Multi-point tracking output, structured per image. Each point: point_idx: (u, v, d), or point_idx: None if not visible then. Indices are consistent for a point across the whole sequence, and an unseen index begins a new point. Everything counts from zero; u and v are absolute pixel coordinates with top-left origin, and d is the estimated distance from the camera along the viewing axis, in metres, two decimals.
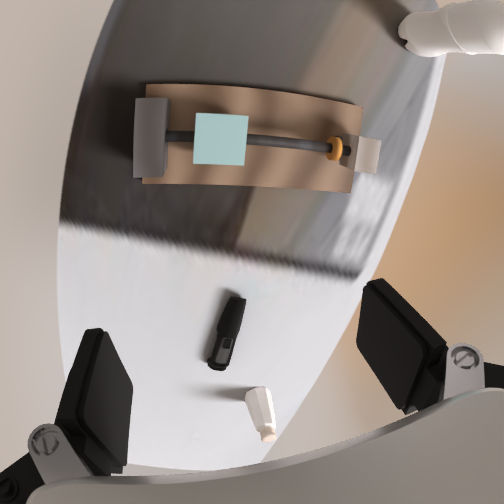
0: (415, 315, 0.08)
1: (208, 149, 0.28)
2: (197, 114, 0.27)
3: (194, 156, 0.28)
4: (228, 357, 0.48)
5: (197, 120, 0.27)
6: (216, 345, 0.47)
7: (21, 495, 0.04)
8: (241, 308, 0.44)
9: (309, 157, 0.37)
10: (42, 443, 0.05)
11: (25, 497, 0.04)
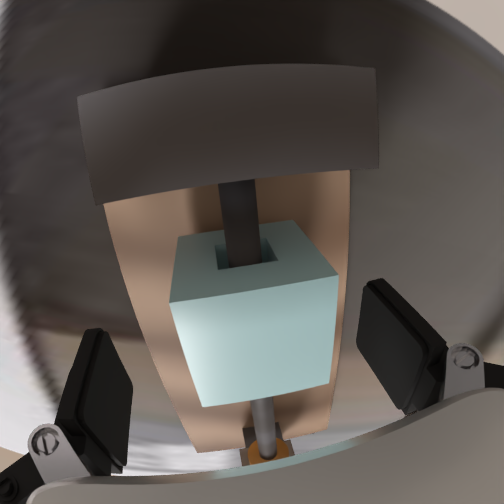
0: (415, 315, 0.08)
1: (224, 333, 0.09)
2: (334, 279, 0.09)
3: (194, 302, 0.09)
4: None
5: (315, 284, 0.09)
6: None
7: (21, 495, 0.04)
8: None
9: (232, 407, 0.20)
10: (42, 443, 0.05)
11: (25, 497, 0.04)
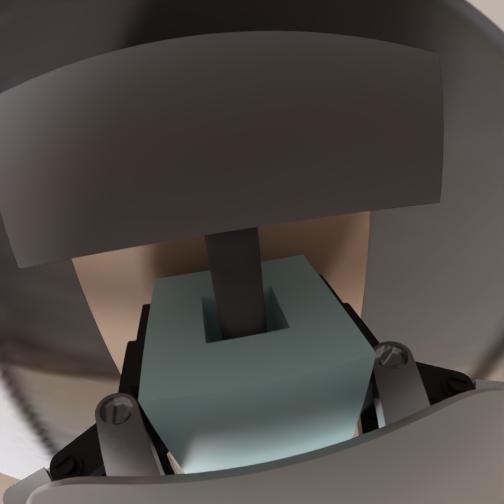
0: None
1: (218, 428, 0.06)
2: (369, 359, 0.06)
3: (173, 400, 0.05)
4: None
5: (344, 368, 0.06)
6: None
7: (87, 472, 0.05)
8: None
9: None
10: (112, 413, 0.06)
11: None
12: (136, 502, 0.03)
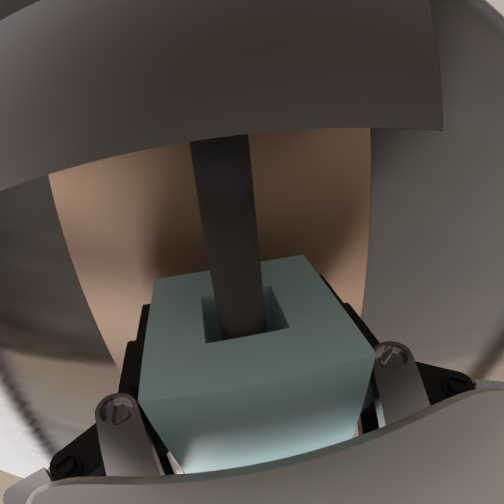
0: None
1: (218, 428, 0.06)
2: (369, 359, 0.06)
3: (173, 400, 0.05)
4: None
5: (344, 368, 0.06)
6: None
7: (87, 472, 0.05)
8: None
9: None
10: (112, 413, 0.06)
11: None
12: (136, 502, 0.03)
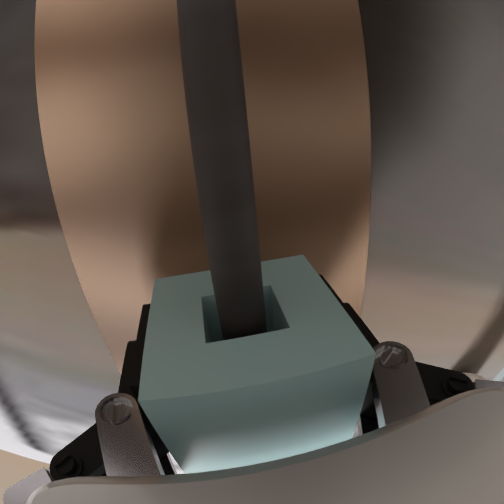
0: None
1: (218, 428, 0.06)
2: (369, 359, 0.06)
3: (173, 400, 0.05)
4: None
5: (344, 368, 0.06)
6: None
7: (87, 472, 0.05)
8: None
9: None
10: (112, 413, 0.06)
11: None
12: (136, 502, 0.03)
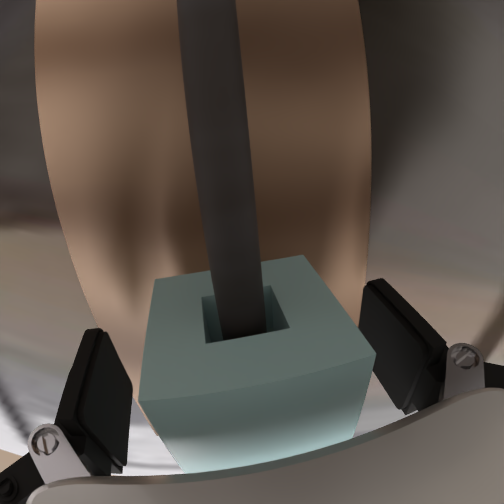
0: (415, 315, 0.08)
1: (218, 428, 0.06)
2: (369, 359, 0.06)
3: (173, 401, 0.05)
4: None
5: (344, 368, 0.06)
6: None
7: (21, 495, 0.04)
8: None
9: None
10: (42, 443, 0.05)
11: (25, 497, 0.04)
12: (136, 502, 0.03)
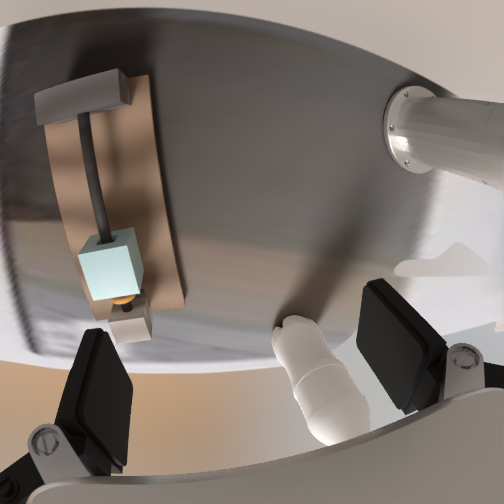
0: (415, 315, 0.08)
1: (94, 265, 0.26)
2: (125, 247, 0.26)
3: (84, 254, 0.25)
4: None
5: (119, 248, 0.26)
6: None
7: (21, 495, 0.04)
8: None
9: None
10: (42, 443, 0.05)
11: (25, 497, 0.04)
12: (136, 502, 0.03)
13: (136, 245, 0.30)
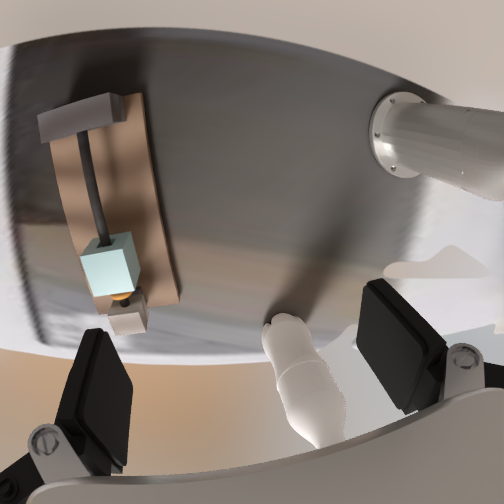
0: (415, 315, 0.08)
1: (94, 266, 0.29)
2: (121, 250, 0.29)
3: (85, 256, 0.29)
4: None
5: (116, 251, 0.29)
6: None
7: (21, 495, 0.04)
8: None
9: None
10: (42, 443, 0.05)
11: (25, 497, 0.04)
12: (136, 502, 0.03)
13: (133, 247, 0.33)
